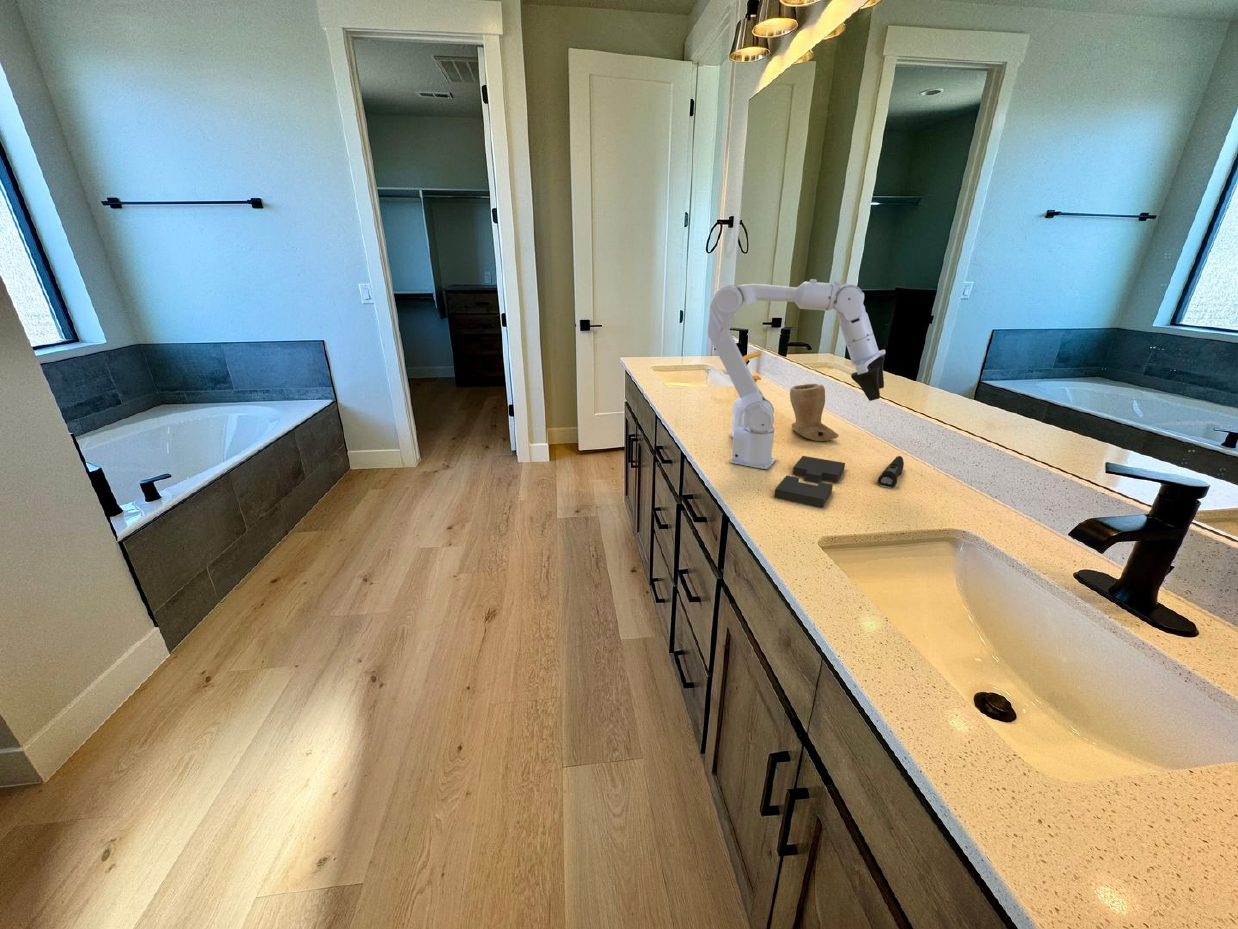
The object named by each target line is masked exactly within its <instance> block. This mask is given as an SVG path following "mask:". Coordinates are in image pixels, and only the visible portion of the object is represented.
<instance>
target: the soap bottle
mask: <svg viewBox="0 0 1238 929" xmlns="http://www.w3.org/2000/svg"><path fill="white" fill-rule="evenodd" d="M760 356H762V353H761V352H760V351H754V352H752V353H749V354H745V355H743V356H742V357H743V359H744V361H745V363H746V364H747V362H748V361H749V360H751V359H753V358H757V357H760ZM752 377H753V379H754V381H755V383H757V381H758V380H760V381H761V380H762V377H761V376H760V375H752ZM732 404H733V405H732V419H731V432H730V433H731V434H730V435H731V438H733V437H734V433H735V430H736V428H737V427H738V426H743V427H745V424H747V414H746V412H745V410H744V407H743V404H742V400H741V398H740V396H739V397H738V398H736V399H735V400H734V401H733V403H732Z"/></svg>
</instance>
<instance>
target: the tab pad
mask: <svg viewBox="0 0 1238 929" xmlns="http://www.w3.org/2000/svg"><path fill="white" fill-rule="evenodd" d="M845 467H846V463H845V462H842V461H835V460H832V459H831V460H830V459H824V458H819V457H814V456H813V457H812V456H806V455H802V456H801V457H800V458H799V459H798V460H797V462H796V463H795V464H794V466H793V467H792V475H793V476H796V477H803V478H804V482H809V483H815V484H818V483H819V482H823V481H825V482H828V483H829V482H830V483H834V484H838V482H839V480H840V479H841V477H842V475H843V473H844V471H845Z"/></svg>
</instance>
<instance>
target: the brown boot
mask: <svg viewBox="0 0 1238 929" xmlns="http://www.w3.org/2000/svg"><path fill="white" fill-rule="evenodd" d="M789 400H790V404H791V407H792V411H793V412H794V417H795V422H792V424H791V429H792V430H793V431H795V432H796V433H798V434H799V435H800V436H802V437H804V438H806V439H808V440H811V441H815V442H827V441H832V440H835V439H838V438H839V436H840V435H839V434H838V433H837V432H836V431H834V430H833V429H831V428H830V427H829V426H827V425H825V424H824V423H822V415H823V412H824V409H825V404H826V388H825V386H824V385H823V384H817V383H805V384H797V385H794V386H792V387H791V388H790V390H789Z"/></svg>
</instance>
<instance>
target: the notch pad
mask: <svg viewBox="0 0 1238 929" xmlns="http://www.w3.org/2000/svg"><path fill="white" fill-rule="evenodd" d="M799 480H800V477H799V476H794V475H793V476H791V475H785V476H784V477H783V479H782V480H781V481H780V483H778V485H777V486H776V488H774V494H773V495H774V496H773V498H775V499H780V500H783V501H789V502H793V503H797V504H803V505H806V506H811V507H816V508H821V509H823V508H824V507H825V505H826V503H827V501H828V500H829V498H830V497H831V495H832V493H833V487H834V485H833V483H829V482H823V481H821V482H819V483H817V484H811V483H805V482H800V481H799Z"/></svg>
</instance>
